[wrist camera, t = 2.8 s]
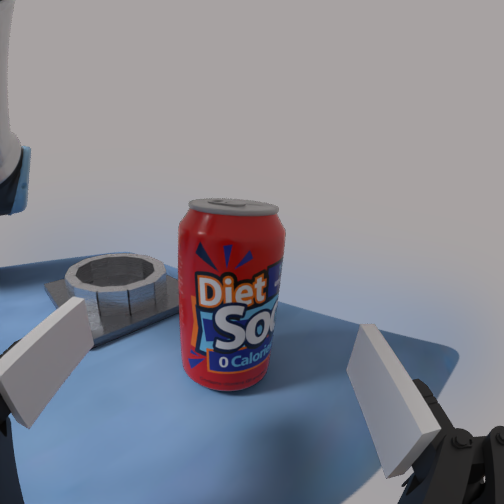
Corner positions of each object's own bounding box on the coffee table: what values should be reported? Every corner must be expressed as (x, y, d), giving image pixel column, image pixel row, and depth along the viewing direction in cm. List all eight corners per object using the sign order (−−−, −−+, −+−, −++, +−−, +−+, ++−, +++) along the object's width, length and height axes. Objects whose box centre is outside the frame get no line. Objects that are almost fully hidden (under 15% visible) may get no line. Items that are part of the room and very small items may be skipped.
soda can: (209, 336, 29) (214, 194, 25) (278, 358, 26) (300, 205, 22) (165, 376, 22) (155, 202, 18) (246, 410, 19) (265, 216, 15)
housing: (45, 290, 33) (40, 265, 32) (137, 265, 47) (136, 243, 46) (86, 350, 23) (78, 316, 22) (207, 300, 37) (207, 272, 36)
